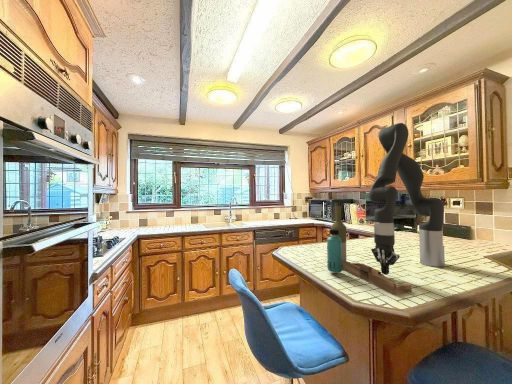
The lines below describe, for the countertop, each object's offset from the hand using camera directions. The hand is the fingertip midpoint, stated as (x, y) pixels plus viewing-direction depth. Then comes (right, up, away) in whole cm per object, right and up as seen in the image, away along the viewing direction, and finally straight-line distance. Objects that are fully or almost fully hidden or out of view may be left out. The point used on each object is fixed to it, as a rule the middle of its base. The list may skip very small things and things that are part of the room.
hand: (385, 273), depth 92 cm
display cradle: (-6, -2, -2) cm, 7 cm away
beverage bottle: (-19, -2, +5) cm, 20 cm away
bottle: (-14, -2, +15) cm, 20 cm away
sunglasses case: (-4, -3, +2) cm, 5 cm away
